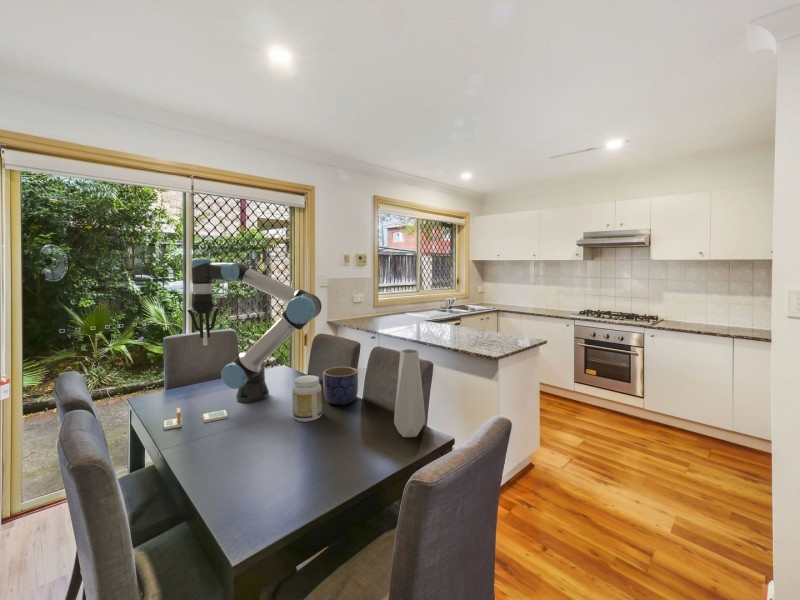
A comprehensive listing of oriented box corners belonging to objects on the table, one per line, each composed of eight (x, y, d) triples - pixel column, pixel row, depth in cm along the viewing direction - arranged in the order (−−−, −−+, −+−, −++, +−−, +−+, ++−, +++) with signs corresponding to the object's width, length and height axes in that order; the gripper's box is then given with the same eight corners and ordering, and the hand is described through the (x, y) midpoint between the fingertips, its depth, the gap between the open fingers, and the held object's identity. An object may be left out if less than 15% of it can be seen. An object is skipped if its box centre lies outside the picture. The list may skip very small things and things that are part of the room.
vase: (388, 429, 150) (388, 349, 147) (414, 425, 154) (415, 346, 151) (400, 443, 139) (400, 356, 136) (428, 437, 143) (429, 353, 140)
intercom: (181, 420, 158) (180, 407, 157) (181, 426, 152) (181, 412, 151) (164, 423, 155) (163, 409, 154) (164, 429, 149) (163, 415, 148)
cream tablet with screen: (225, 412, 167) (225, 409, 167) (227, 418, 161) (227, 415, 161) (202, 416, 162) (202, 413, 162) (203, 422, 156) (203, 419, 156)
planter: (365, 399, 183) (365, 369, 182) (342, 410, 170) (342, 378, 168) (339, 393, 192) (339, 364, 191) (316, 403, 178) (315, 372, 177)
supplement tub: (312, 409, 171) (311, 372, 169) (327, 416, 162) (326, 378, 161) (287, 416, 162) (286, 378, 161) (302, 425, 154) (301, 385, 152)
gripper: (217, 291, 174) (219, 341, 177) (185, 293, 167) (188, 345, 169) (219, 293, 168) (222, 344, 170) (186, 294, 161) (189, 348, 163)
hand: (205, 344), depth 170 cm, fingers closed
